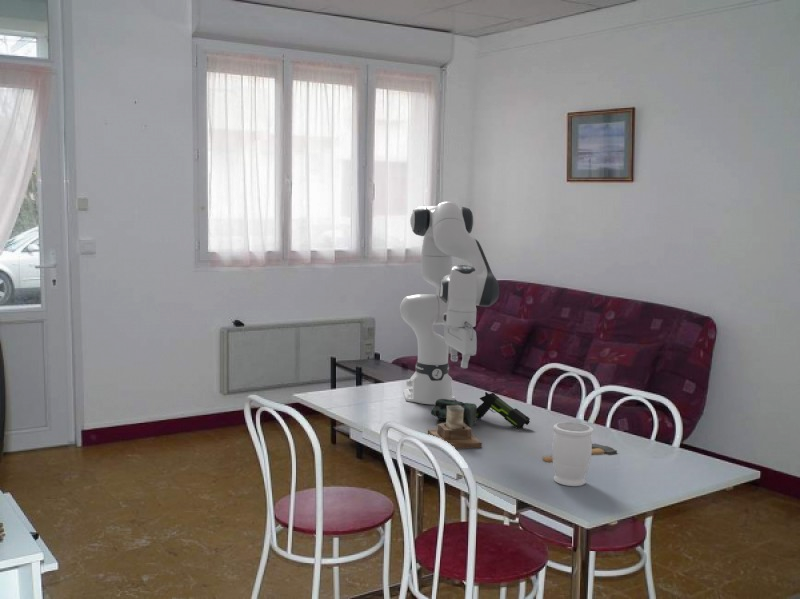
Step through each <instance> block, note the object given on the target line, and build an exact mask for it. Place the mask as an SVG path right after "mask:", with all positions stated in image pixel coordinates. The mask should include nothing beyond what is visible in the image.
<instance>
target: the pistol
mask: <svg viewBox="0 0 800 599" xmlns="http://www.w3.org/2000/svg"><path fill="white" fill-rule="evenodd" d="M484 394H485V395H483V396H481V397H479V399H480V400H481V401H482V403H481V404H480V405H479V406H478V407H477V410H476V420H481V418H483V417H484V416H485V415H486V414H487V413H488V411H491V412H492V413H497V414H499V415H500V416H502V417H503V418H504V420H505V421H507V423H509V424H510V425H512V426H513V427H514V428H516V429H517V430H518V429H521V428H523V427H524V425H526V426H528V425H529V424H530V422H531V421H530V420H531V418H530V417H529V416H527V415H526V414H524V412H522V411H520V410H519V409H518V408H513V407H512V406H511V405H509V404H508V403H507V402H505V401H504V400H503V399H502V398H500V396H498V395H497V394H496V393H495V392H491V393H488V392H487V391H485V392H484Z"/></svg>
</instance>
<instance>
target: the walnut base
mask: <svg viewBox="0 0 800 599" xmlns="http://www.w3.org/2000/svg"><path fill="white" fill-rule="evenodd" d="M472 431H473V429H472V428H471V427H470V425H466V424H465V423H464V422H463V429H448V428H447V427H446V422H441V423H437V428H433V429H432V428H429V429H427V435H428V434H430V435H433V436H436V437H438V438H441V439H442V440H444V441H447V442H448V443H450V444H451V445H452V446H454V447H455V448H456V449H455V450H458V449H459V450H460V449H480V448H482V447H483V446H482V442H481V441H480V440H479V439H478V438H477V437H475V436H474V435H473V434H472V433H473V432H472Z"/></svg>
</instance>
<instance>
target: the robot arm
mask: <svg viewBox="0 0 800 599" xmlns="http://www.w3.org/2000/svg"><path fill="white" fill-rule="evenodd" d="M410 215H411V216H410V220H409V222H410V227H411V229H412V232H413V234H415V235H416V236H420V237H423V240H422V246H421V247H422V248H421V265H420V266H421V268H420V276H421V278H422V279H423V281H424V282H426V283H427V284H429V285H431V286H433V287H434V288H435V290H436V293H435V294H431V293H430V294H429V293H428V294H426V293H425V294H424V293H419V294H413V295H407V296H404V298H403V299H402V301H401V302H400V305H399V313H400V317H401V319H402V320H403V321H404V323H406V324H407V325H408V326H409V327H410V328H411V329H412V331H413V332H414V334H415V337H416V341H417V361H416V363H415V368H414V369H415V370H414V371H415V372H414V373H413V374H412V375H411V377H409V378H410V379H407V380H406V387H408V388H405V389H403V395H404V400H405V401H407V402H412V403H418V404H423V405H424V404H425V405H435V403H436V401H437V400H438V399H448V400H454V401H457V400H456V399H457V398H456V396H454V395H453V378H452V377H451V376H450V375H449V371H450V363H449V352H450V361H451V362H456V363H457V362H458V360H459V356H458V353H460V354H461V358H462V359H461V361H460V368H462V369H468V367H469V362H470V359H471V357H472V356H476V354H477V347H478V345H477V344H478V343H477V342H478V341H477V332H476V330H475V329H474V327H476V325H477V310H478V309H477V306H479V307H483V308H486V307H487V308H489V307H490V306H492V305H494V304H495V303H496V302H497V301H498V299H499V296H500V286H499V283H498V279H497V278H496V277H495V275H494V273H493V272H492V269H491V267H490V265H489V264H490V263H489V262H488V260H487V257H486V255H485V252H484V250H483V248H482V245H481V243H480V241H479V240H478V239H476V238H474V237H473V236H472V235H471V233H472V230H473V228H474V224H475V220H474V215H473V212H472V210H471V208H468V207H465V206H458V205H457V204H456V203H454V202H453V201H443V202H440V203H438V204H437V205H428V206H425V205H420V206H416V207H415V208H414V209H413V210H412V213H411V214H410ZM453 257H455V258H458V259H461V260H464V261H466V262H468V263H469V264H471V265H472V266H471V265H466V264H457V265H454V266H453ZM435 325H438V326H440V325H441V326H443V328H444V329H443V336H442V335H441V334H440V333H437V332H435V330H434V329H435V328H434V326H435Z"/></svg>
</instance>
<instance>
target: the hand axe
mask: <svg viewBox="0 0 800 599" xmlns="http://www.w3.org/2000/svg"><path fill="white" fill-rule="evenodd" d="M617 453H618V450H617V449H615V448H613V447H611V446H609V445H603V444H599V443H592V453H591V456H594V455H595V456H596V455H604V454H605V455H613V454H617ZM542 461H543V462H544V463H553V457H552V455H551V456H548V455H547V456H545V455H544V456H542Z"/></svg>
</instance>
